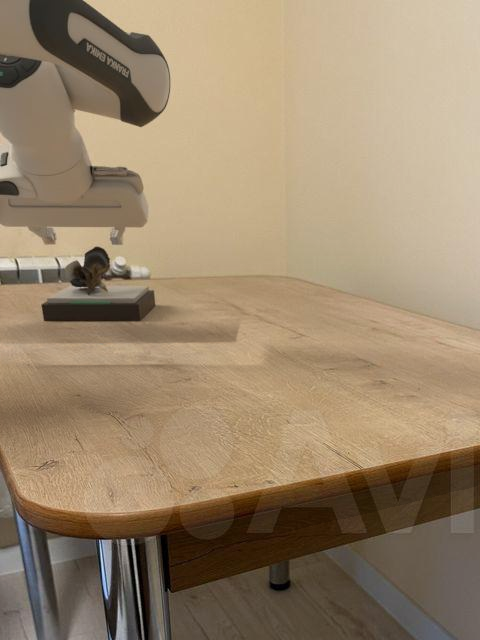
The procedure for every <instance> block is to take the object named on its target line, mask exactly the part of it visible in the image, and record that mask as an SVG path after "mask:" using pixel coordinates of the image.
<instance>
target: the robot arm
mask: <svg viewBox="0 0 480 640" xmlns="http://www.w3.org/2000/svg"><path fill="white" fill-rule="evenodd" d="M170 94H171V73H170V68H169V63H168V62H167V59H166V57H165V55H164V54H163V52H162V51H161V49H160V47H159V46H158V45H157V43H156V42H155V41H154V39H153V38H152V37H151V36H150V35H149V34H145V33H138V32H133V31H131V32H128V31H124V30H123V29H122V28H120V27H119V26H118V25H116V23H114V22H113V21H111V20H110V19H109V18H107V17H106V16H105V15H103V14H102V13H101V12H99V10H97V9H95V7H93V6H92V5H90V4H89V3H88V2H87V1H85V0H0V134H1V136H2V137H3V138H4V139H5V142H1V143H0V225H1V226H3V227H7V228H28V230H29V231H30V232H31V233H32V234H35V235H36V236H37V237H39V238H41V239H42V242H43V244H44V245H45V246H46V245H57V237H58V236H57V233H56V232H55V229H54V228H110V230H109V232H110V234H109V240H110V242H111V245H113V246H115V245H116V246H123V245H124V233H125V231H126V228H144V227H145V226H146V224H147V223H148V220H149V219H148V218H149V204H148V200H147V198H146V194H145V193H144V184H143V179H142V177H141V175H140V174H139V173H138V172H135V171H133V170H129V169H128V168H127V167H126V166H116V167H114V166H100V165H99V166H97V165H92V162H91V159H90V155H89V153H88V150H87V147H86V145H85V142H84V140H83V136H82V134H81V133H80V131H79V130H78V129H77V127H76V125H75V123H76V122H75V120H76V119H75V112H76V111H80V112H84V113H89V114H92V115H97V116H101V117H105V118H109V119H114V120H118V121H121V122H122V123H126V124H128V125H132V126H136V127H138V128H143V127H145V126H146V125H149V124H150V123H151V122H153V121H154V120H156V119H157V118H158V117H159V116H160V115H161V114H162V113H163V112H164V111H165V109H166V107H167V105H168V103H169V99H170Z"/></svg>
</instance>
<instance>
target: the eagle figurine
mask: <svg viewBox="0 0 480 640" xmlns="http://www.w3.org/2000/svg"><path fill="white" fill-rule="evenodd" d="M110 260H111V258H110V257H109V254H108V252H107V251H106V250H105V248H103V247H101V246H94V247H93V248H90V250H88V251H86V252H85V253H84V260H83V265H81V263H80V262H79V260H72V261H71V262H70V263H67V265H66V266H65V267H64V274H65V277H66V279H70V280H69V283H70V284H71V286H75V287H88V295H90V294H91V292H92V291H93V290H94V288H95V287H100V288H101V289H104V290H106V291H107V292H108V290H107V288H106V286H107V285H106V284H105V283H104V282H103V280H102V279H101V278H100V277H102V276H103V275H105V274H107V273H108V272H109V270H110V268H111V264H110V263H111V261H110Z"/></svg>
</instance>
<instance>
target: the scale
mask: <svg viewBox="0 0 480 640" xmlns="http://www.w3.org/2000/svg"><path fill="white" fill-rule="evenodd" d="M106 288H107V290H108V292H107V291H106V290H104V289H101V288H100V287H95V288H94V290H93V291H92V292H91V294H90V295H88V287H75V286H73V285H69V286H67V287H65V288H63V289H62V290H59V291H57V292H56V293H54V294H52V295H50V296H48V297H47V298H46V301H45V302H43V303H41V311H42V317H43V318H42V319H43V321H44V322H51V321H52V322H53V321H55V322H56V321H57V322H59V321H60V322H61V321H67V322H68V321H69V322H70V321H71V322H73V321H77V322H78V321H79V322H80V321H81V322H82V321H84V322H88V321H93V322H94V321H95V322H96V321H97V322H99V321H101V322H102V321H103V322H105V321H106V322H107V321H108V322H109V321H114V322H115V321H117V322H118V321H122V322H123V321H141V320H142V319H143V318H145V316H146V315H147V314H148V313H149V312H150V311H151V310H152V309H154V307H155V306H156V298H155V290H153V289H152V290H151V289H149V288H150V287H149V285H106Z"/></svg>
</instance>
